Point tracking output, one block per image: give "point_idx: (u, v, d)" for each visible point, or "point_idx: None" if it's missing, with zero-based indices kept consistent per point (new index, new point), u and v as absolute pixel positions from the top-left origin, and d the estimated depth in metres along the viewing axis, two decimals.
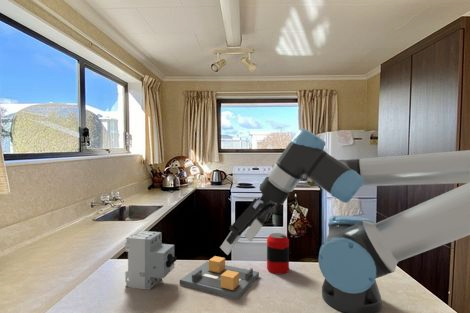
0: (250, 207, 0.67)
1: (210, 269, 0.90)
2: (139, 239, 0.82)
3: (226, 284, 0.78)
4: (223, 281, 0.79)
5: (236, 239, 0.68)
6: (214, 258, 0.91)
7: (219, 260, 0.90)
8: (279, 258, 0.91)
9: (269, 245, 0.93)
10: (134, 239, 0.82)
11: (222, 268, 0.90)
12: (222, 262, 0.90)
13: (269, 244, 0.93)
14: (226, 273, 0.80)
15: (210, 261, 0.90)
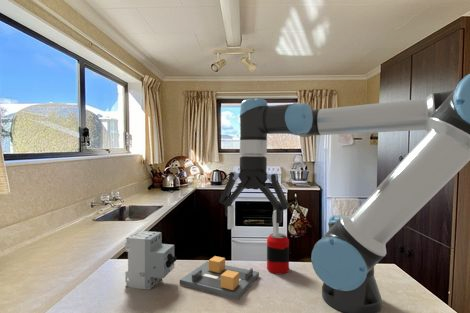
0: None
1: (210, 269, 0.90)
2: (139, 239, 0.82)
3: (226, 284, 0.78)
4: (223, 281, 0.79)
5: (228, 211, 0.79)
6: (214, 258, 0.91)
7: (219, 260, 0.90)
8: (279, 258, 0.91)
9: (269, 245, 0.93)
10: (134, 239, 0.82)
11: (222, 268, 0.90)
12: (222, 262, 0.90)
13: (269, 244, 0.93)
14: (226, 273, 0.80)
15: (210, 261, 0.90)
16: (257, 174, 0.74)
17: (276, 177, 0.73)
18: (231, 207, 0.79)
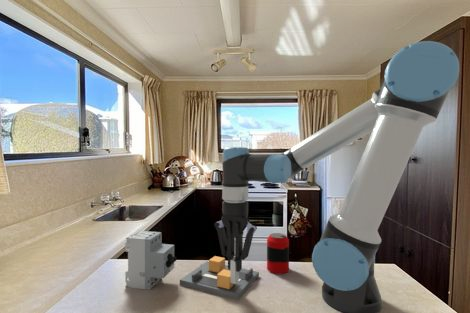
0: None
1: (210, 269, 0.90)
2: (139, 239, 0.82)
3: (222, 283, 0.79)
4: (219, 280, 0.79)
5: None
6: (214, 258, 0.91)
7: (219, 260, 0.90)
8: (279, 258, 0.91)
9: (269, 245, 0.93)
10: (134, 239, 0.82)
11: (222, 268, 0.90)
12: (222, 262, 0.90)
13: (269, 244, 0.93)
14: (222, 272, 0.81)
15: (210, 261, 0.90)
16: (241, 217, 0.77)
17: (253, 231, 0.76)
18: None
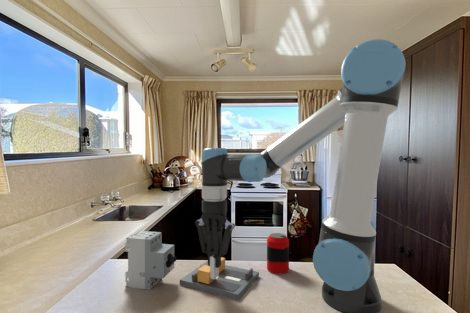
0: None
1: None
2: (139, 239, 0.82)
3: (202, 279, 0.82)
4: (199, 275, 0.82)
5: None
6: None
7: None
8: (279, 258, 0.91)
9: (269, 245, 0.93)
10: (134, 239, 0.82)
11: (222, 268, 0.90)
12: (222, 262, 0.90)
13: (269, 244, 0.93)
14: (203, 268, 0.84)
15: None
16: (219, 215, 0.80)
17: (231, 228, 0.79)
18: None
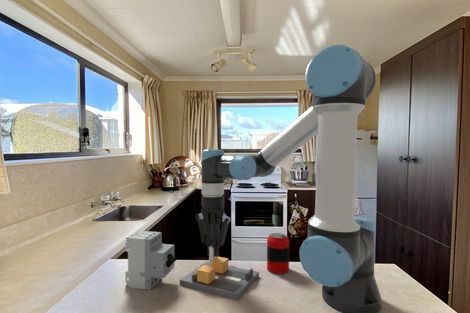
0: None
1: None
2: (139, 239, 0.82)
3: (202, 279, 0.82)
4: (199, 275, 0.82)
5: None
6: (217, 259, 0.91)
7: (222, 260, 0.90)
8: (279, 258, 0.91)
9: (269, 245, 0.93)
10: (134, 239, 0.82)
11: (225, 269, 0.90)
12: (225, 263, 0.90)
13: (269, 244, 0.93)
14: (202, 268, 0.84)
15: (213, 262, 0.89)
16: (217, 209, 0.89)
17: (228, 221, 0.89)
18: None
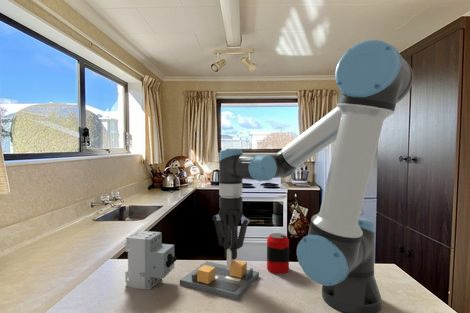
0: None
1: (231, 274, 0.86)
2: (139, 239, 0.82)
3: (202, 279, 0.82)
4: (199, 275, 0.82)
5: (227, 253, 0.88)
6: (235, 262, 0.88)
7: (241, 264, 0.87)
8: (279, 258, 0.91)
9: (269, 245, 0.93)
10: (134, 239, 0.82)
11: (244, 273, 0.87)
12: (244, 266, 0.87)
13: (269, 244, 0.93)
14: (202, 268, 0.84)
15: (231, 265, 0.86)
16: (236, 211, 0.86)
17: (247, 223, 0.86)
18: None
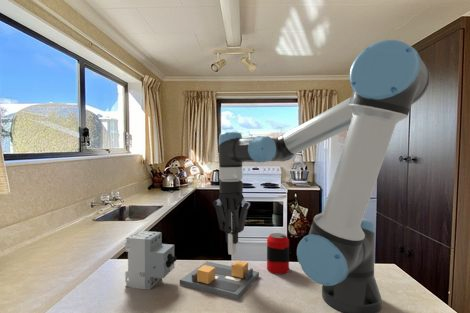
0: None
1: (233, 274, 0.86)
2: (139, 239, 0.82)
3: (202, 279, 0.82)
4: (199, 275, 0.82)
5: None
6: (237, 262, 0.88)
7: (242, 264, 0.86)
8: (279, 258, 0.91)
9: (269, 245, 0.93)
10: (134, 239, 0.82)
11: None
12: (245, 267, 0.87)
13: (269, 244, 0.93)
14: (202, 268, 0.84)
15: (233, 266, 0.86)
16: (236, 194, 0.86)
17: (248, 206, 0.86)
18: None
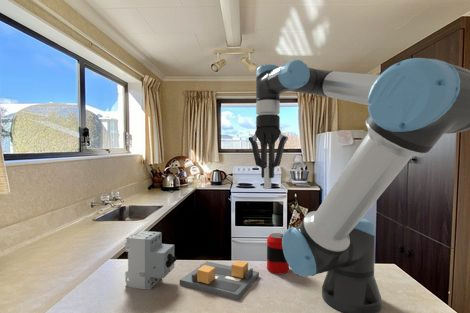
0: None
1: (233, 274, 0.86)
2: (139, 239, 0.82)
3: (202, 279, 0.82)
4: (199, 275, 0.82)
5: None
6: (237, 262, 0.88)
7: (242, 264, 0.86)
8: (279, 258, 0.91)
9: (269, 245, 0.93)
10: (134, 239, 0.82)
11: None
12: (245, 267, 0.87)
13: (269, 244, 0.93)
14: (202, 268, 0.84)
15: (233, 266, 0.86)
16: (274, 128, 0.86)
17: (285, 140, 0.85)
18: None
